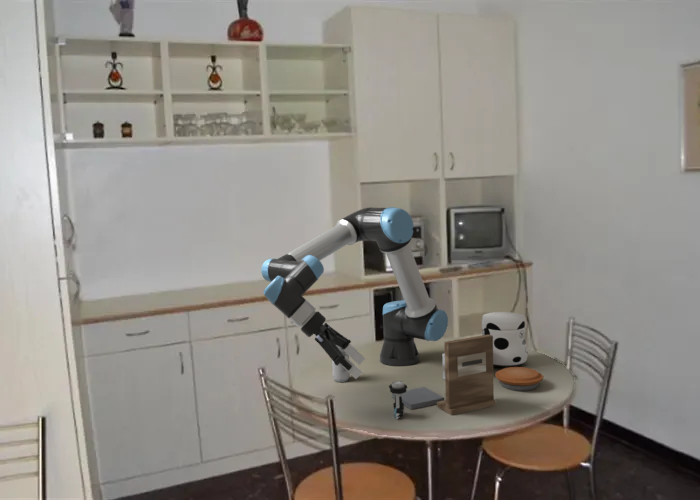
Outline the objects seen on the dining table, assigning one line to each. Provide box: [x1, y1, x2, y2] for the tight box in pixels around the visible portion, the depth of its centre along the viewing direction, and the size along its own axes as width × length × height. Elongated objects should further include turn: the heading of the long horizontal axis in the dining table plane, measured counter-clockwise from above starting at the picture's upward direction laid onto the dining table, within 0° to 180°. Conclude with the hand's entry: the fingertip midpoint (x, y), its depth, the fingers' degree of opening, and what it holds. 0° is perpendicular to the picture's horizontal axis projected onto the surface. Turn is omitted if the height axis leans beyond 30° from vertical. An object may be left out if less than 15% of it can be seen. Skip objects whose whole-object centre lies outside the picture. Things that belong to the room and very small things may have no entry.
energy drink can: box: [331, 336, 351, 383], centre depth 221 cm, size 6×6×15 cm
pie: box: [494, 366, 544, 392], centre depth 209 cm, size 15×16×5 cm
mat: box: [391, 386, 445, 410], centre depth 199 cm, size 12×12×2 cm
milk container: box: [481, 311, 529, 368], centre depth 233 cm, size 17×17×18 cm
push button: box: [388, 380, 408, 420], centre depth 185 cm, size 7×5×10 cm
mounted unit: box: [436, 335, 497, 416], centre depth 192 cm, size 10×16×22 cm, turn 114°
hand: (360, 368), depth 185 cm, fingers open, 13 cm apart
